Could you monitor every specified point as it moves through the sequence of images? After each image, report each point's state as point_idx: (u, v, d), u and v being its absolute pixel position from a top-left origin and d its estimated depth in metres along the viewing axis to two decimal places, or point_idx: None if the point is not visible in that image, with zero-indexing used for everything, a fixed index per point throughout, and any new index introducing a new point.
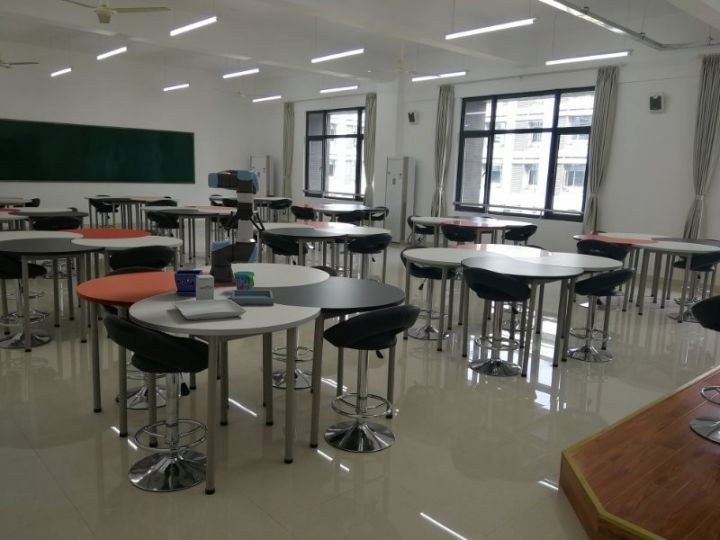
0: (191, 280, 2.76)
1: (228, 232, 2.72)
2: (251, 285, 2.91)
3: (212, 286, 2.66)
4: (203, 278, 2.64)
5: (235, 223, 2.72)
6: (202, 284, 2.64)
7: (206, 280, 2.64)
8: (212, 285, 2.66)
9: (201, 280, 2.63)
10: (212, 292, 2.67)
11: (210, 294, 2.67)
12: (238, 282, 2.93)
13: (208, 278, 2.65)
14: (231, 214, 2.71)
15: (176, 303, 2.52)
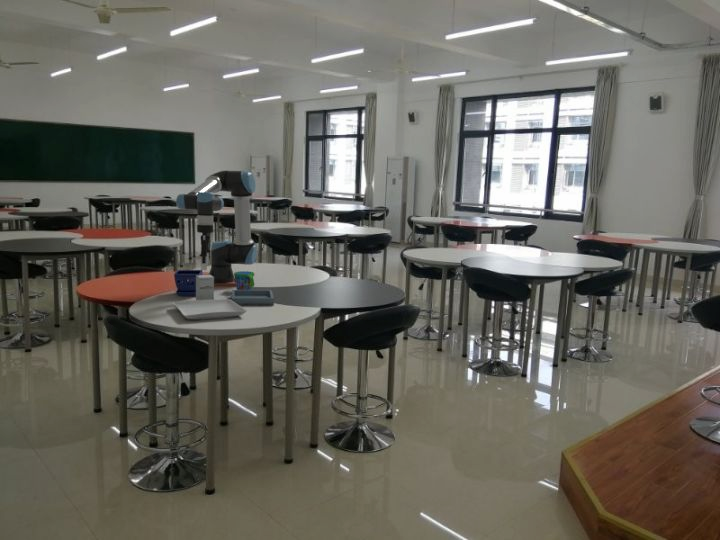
0: (191, 280, 2.76)
1: None
2: (251, 285, 2.91)
3: (212, 286, 2.66)
4: (203, 278, 2.64)
5: None
6: (202, 284, 2.64)
7: (206, 280, 2.64)
8: (212, 285, 2.66)
9: (201, 280, 2.63)
10: (212, 292, 2.67)
11: (210, 294, 2.67)
12: (238, 282, 2.93)
13: (208, 278, 2.65)
14: None
15: (176, 303, 2.52)
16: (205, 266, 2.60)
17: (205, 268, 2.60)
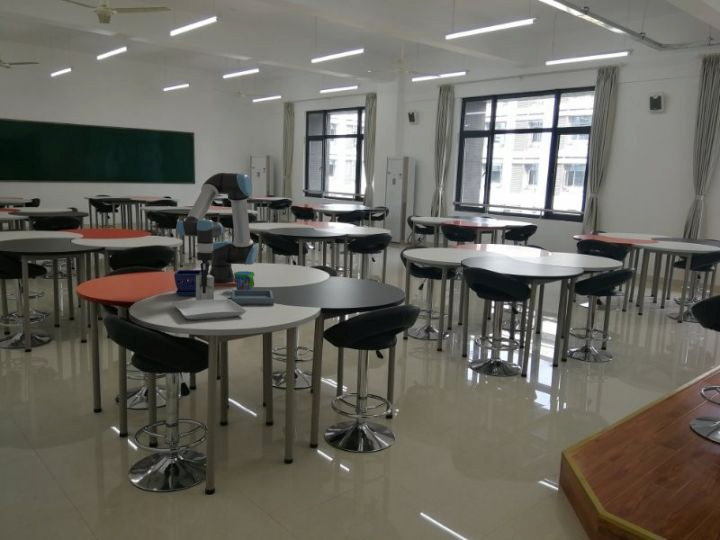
0: (191, 280, 2.76)
1: None
2: (251, 285, 2.91)
3: (212, 286, 2.66)
4: None
5: None
6: None
7: None
8: (212, 285, 2.66)
9: None
10: (212, 292, 2.67)
11: (210, 294, 2.67)
12: (238, 282, 2.93)
13: (208, 278, 2.65)
14: None
15: (176, 303, 2.52)
16: (205, 296, 2.64)
17: (205, 298, 2.64)
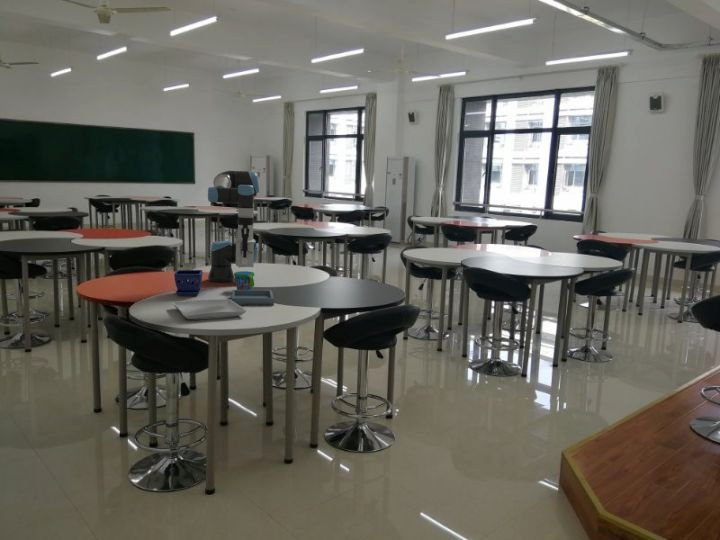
0: (191, 280, 2.76)
1: None
2: (251, 285, 2.91)
3: (252, 251, 2.68)
4: None
5: None
6: None
7: None
8: (252, 250, 2.68)
9: (241, 244, 2.65)
10: (252, 257, 2.69)
11: (250, 259, 2.68)
12: (238, 282, 2.93)
13: (248, 243, 2.67)
14: None
15: (176, 303, 2.52)
16: (246, 260, 2.66)
17: (246, 262, 2.66)
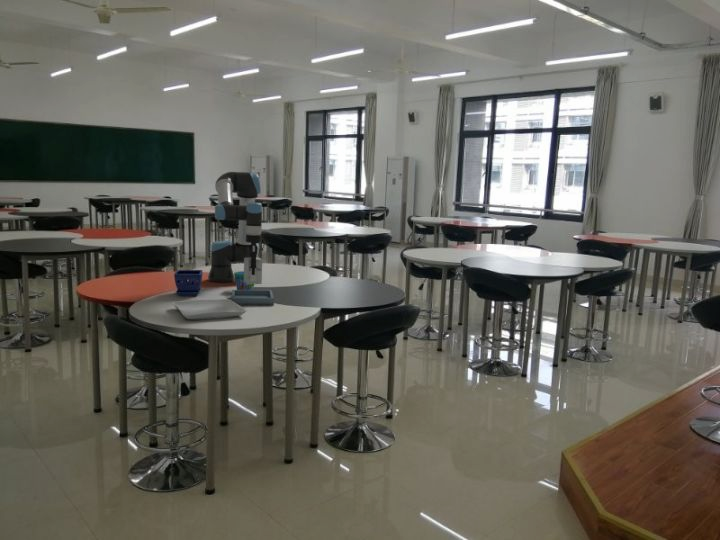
0: (191, 280, 2.76)
1: None
2: (251, 285, 2.91)
3: (260, 268, 2.71)
4: None
5: None
6: None
7: None
8: (260, 267, 2.71)
9: (250, 261, 2.68)
10: (260, 274, 2.71)
11: (258, 276, 2.71)
12: (238, 282, 2.93)
13: (257, 260, 2.69)
14: None
15: (176, 303, 2.52)
16: (254, 277, 2.69)
17: (254, 279, 2.69)
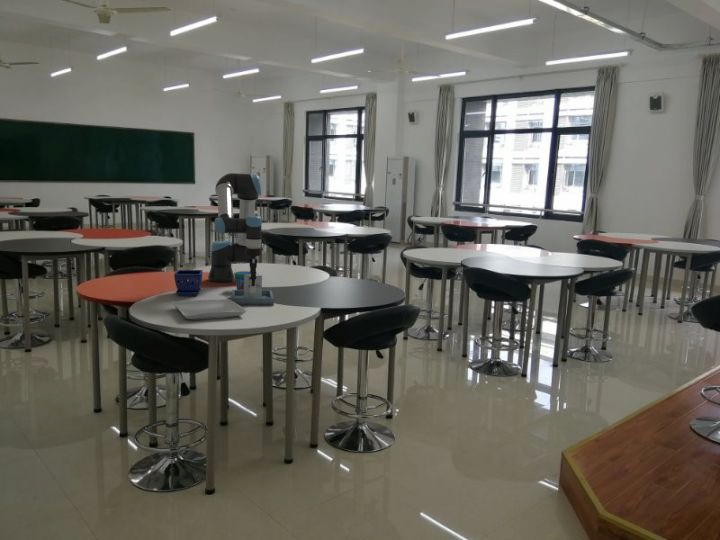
0: (191, 280, 2.76)
1: None
2: None
3: (260, 284, 2.71)
4: None
5: (250, 267, 2.77)
6: None
7: None
8: (260, 283, 2.71)
9: None
10: (260, 290, 2.72)
11: (258, 292, 2.71)
12: (238, 282, 2.93)
13: (256, 276, 2.70)
14: (250, 258, 2.78)
15: (176, 303, 2.52)
16: (254, 288, 2.67)
17: (254, 290, 2.68)
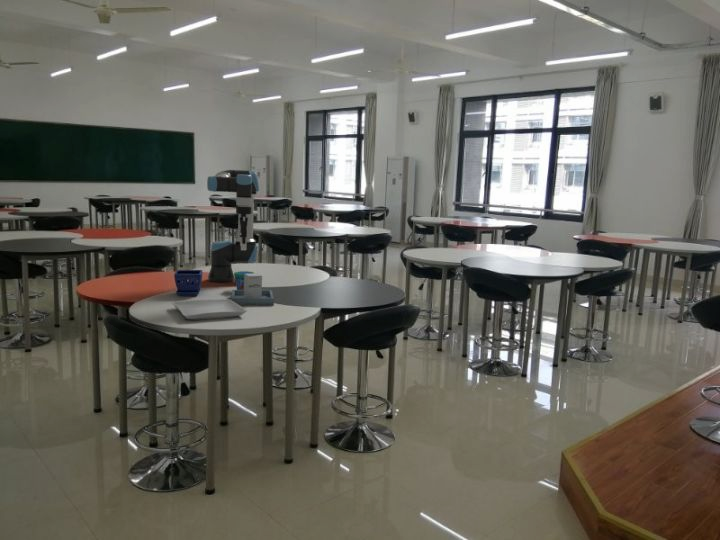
0: (191, 280, 2.76)
1: None
2: None
3: (260, 284, 2.71)
4: (252, 276, 2.69)
5: None
6: (250, 282, 2.69)
7: (254, 278, 2.69)
8: (260, 283, 2.71)
9: (249, 278, 2.68)
10: (260, 290, 2.72)
11: (258, 292, 2.71)
12: (238, 282, 2.93)
13: (256, 276, 2.70)
14: None
15: (176, 303, 2.52)
16: (245, 246, 2.70)
17: (245, 248, 2.70)
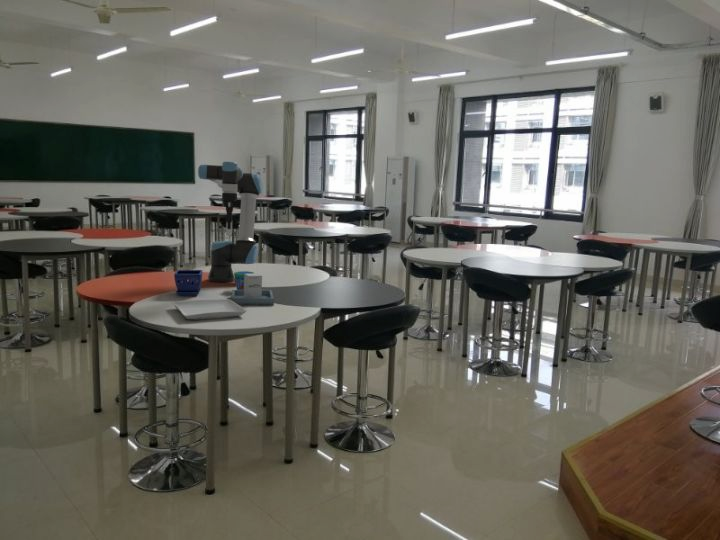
0: (191, 280, 2.76)
1: None
2: None
3: (260, 284, 2.71)
4: (252, 276, 2.69)
5: None
6: (250, 282, 2.69)
7: (254, 278, 2.69)
8: (260, 283, 2.71)
9: (249, 278, 2.68)
10: (260, 290, 2.72)
11: (258, 292, 2.71)
12: (238, 282, 2.93)
13: (256, 276, 2.70)
14: None
15: (176, 303, 2.52)
16: (230, 232, 2.75)
17: (230, 233, 2.75)
